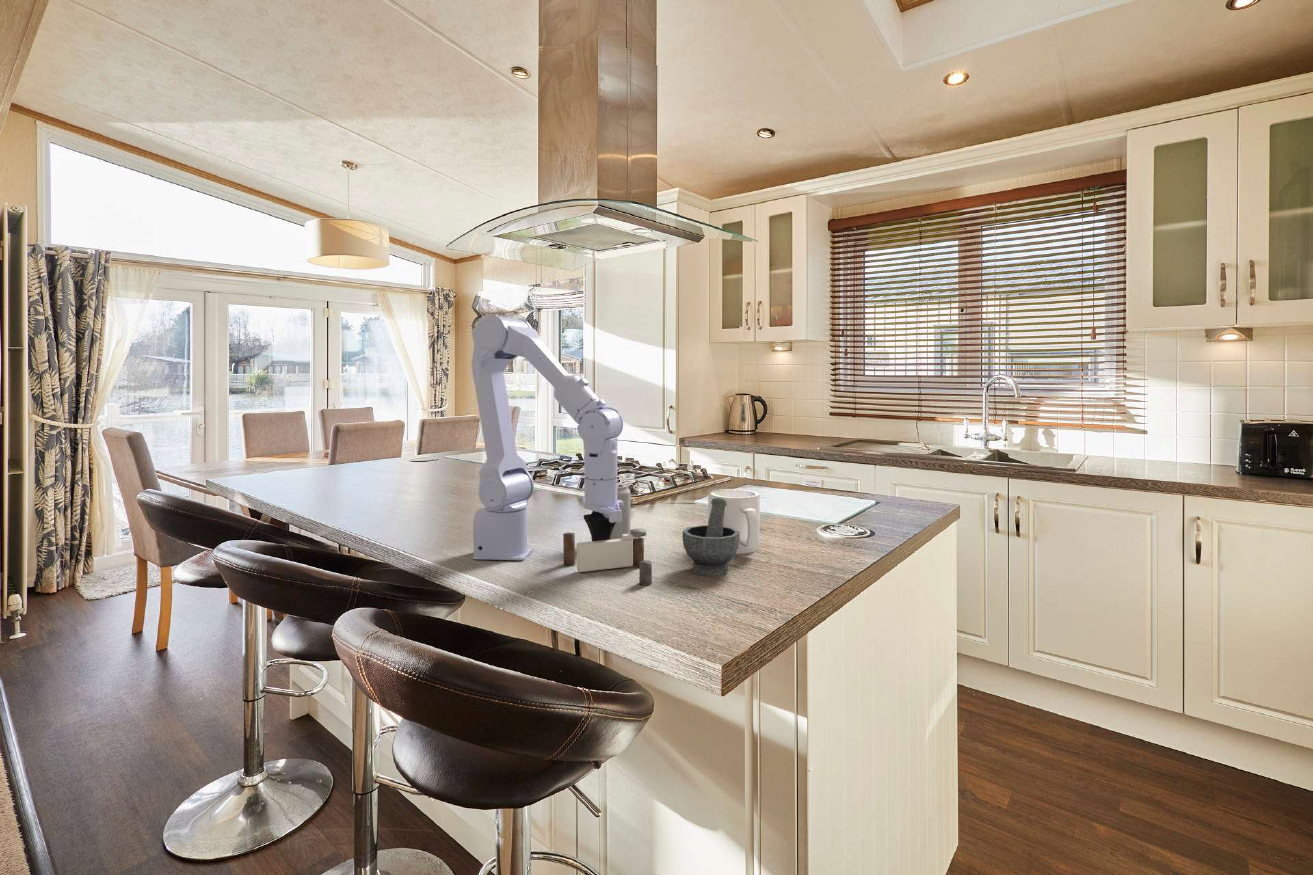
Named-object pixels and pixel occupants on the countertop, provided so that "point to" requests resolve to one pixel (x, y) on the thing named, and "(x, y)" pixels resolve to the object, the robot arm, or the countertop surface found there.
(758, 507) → the mug
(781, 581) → the countertop surface
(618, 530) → the beverage can
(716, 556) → the mortar and pestle
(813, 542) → the countertop surface
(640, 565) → the posts
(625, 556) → the gate
